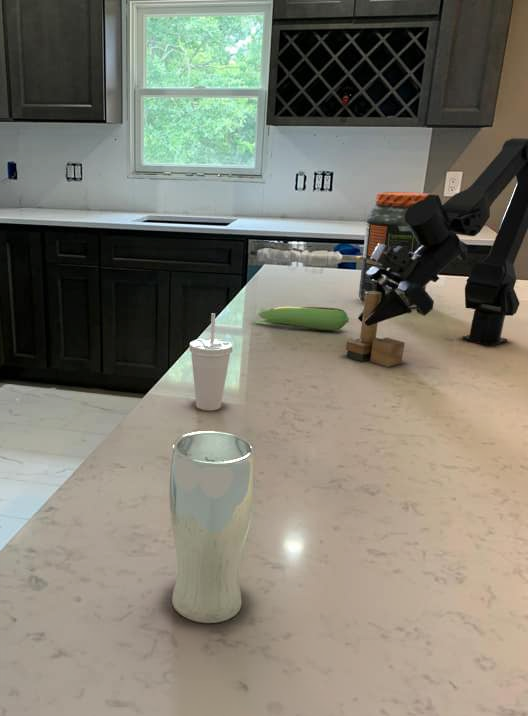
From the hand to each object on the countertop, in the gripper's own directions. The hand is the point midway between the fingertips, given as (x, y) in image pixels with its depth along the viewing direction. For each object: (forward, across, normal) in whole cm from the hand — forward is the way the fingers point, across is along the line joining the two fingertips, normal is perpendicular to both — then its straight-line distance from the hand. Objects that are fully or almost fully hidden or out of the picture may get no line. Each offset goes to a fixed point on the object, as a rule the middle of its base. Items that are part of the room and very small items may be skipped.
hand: (362, 322), depth 134 cm
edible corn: (+8, -22, +1) cm, 24 cm away
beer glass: (+35, +74, -25) cm, 86 cm away
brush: (+4, 0, +6) cm, 7 cm away
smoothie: (+28, +24, -18) cm, 42 cm away
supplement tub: (-13, -46, +23) cm, 53 cm away
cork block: (+2, +4, +7) cm, 9 cm away
